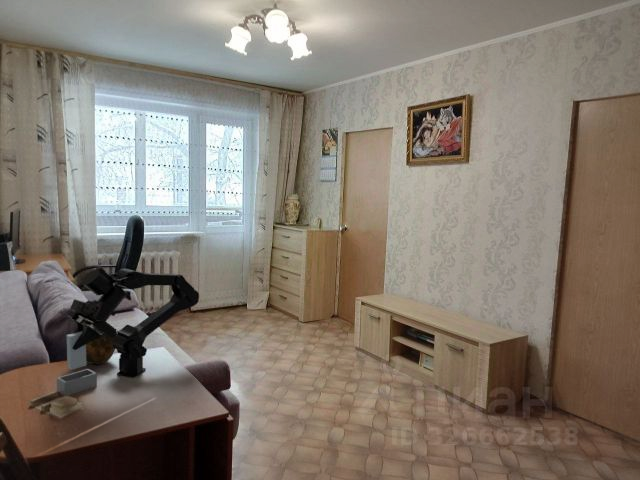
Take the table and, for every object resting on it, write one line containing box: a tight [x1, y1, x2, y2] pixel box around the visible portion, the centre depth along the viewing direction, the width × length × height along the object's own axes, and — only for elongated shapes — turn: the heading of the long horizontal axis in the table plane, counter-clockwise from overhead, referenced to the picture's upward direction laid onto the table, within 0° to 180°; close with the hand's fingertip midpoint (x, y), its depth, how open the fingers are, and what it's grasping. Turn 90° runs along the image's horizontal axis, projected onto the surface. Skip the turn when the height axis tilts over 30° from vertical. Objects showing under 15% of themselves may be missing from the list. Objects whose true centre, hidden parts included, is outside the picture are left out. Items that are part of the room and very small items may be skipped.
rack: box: [28, 390, 85, 420], centre depth 126 cm, size 7×14×3 cm, turn 62°
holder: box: [56, 368, 98, 397], centre depth 137 cm, size 9×5×5 cm, turn 144°
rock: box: [86, 331, 117, 365], centre depth 156 cm, size 13×13×15 cm
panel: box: [66, 331, 87, 371], centre depth 135 cm, size 4×2×10 cm, turn 144°
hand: (71, 348), depth 134 cm, fingers closed on panel, 2 cm apart
